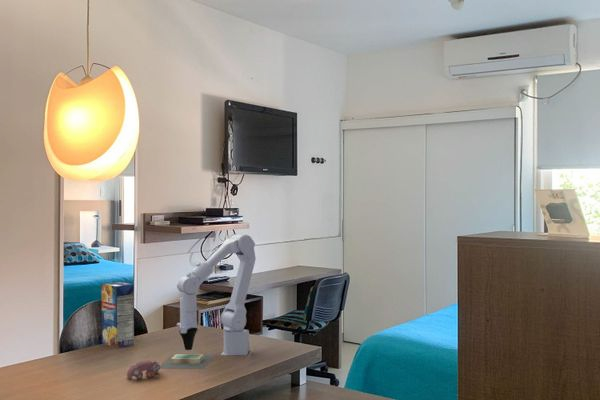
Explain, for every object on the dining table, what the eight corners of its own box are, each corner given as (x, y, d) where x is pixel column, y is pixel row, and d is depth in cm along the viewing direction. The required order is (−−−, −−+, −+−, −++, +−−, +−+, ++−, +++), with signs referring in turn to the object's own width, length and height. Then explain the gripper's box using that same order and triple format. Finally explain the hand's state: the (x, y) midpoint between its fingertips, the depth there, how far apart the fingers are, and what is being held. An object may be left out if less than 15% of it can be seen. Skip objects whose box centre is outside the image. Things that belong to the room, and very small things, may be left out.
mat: (215, 356, 209) (215, 354, 209) (204, 370, 191) (204, 368, 191) (171, 356, 210) (171, 354, 210) (156, 370, 192) (156, 368, 192)
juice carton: (101, 343, 231) (101, 283, 231) (118, 340, 237) (118, 281, 237) (116, 348, 223) (116, 286, 223) (134, 344, 228) (133, 284, 229)
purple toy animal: (129, 385, 181) (131, 368, 178) (125, 376, 184) (128, 358, 182) (159, 380, 186) (162, 363, 184) (155, 371, 190) (158, 354, 187)
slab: (203, 354, 204) (199, 358, 198) (203, 358, 204) (199, 363, 198) (175, 354, 204) (170, 358, 198) (175, 358, 204) (170, 363, 198)
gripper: (182, 307, 211) (182, 344, 210) (171, 314, 196) (171, 354, 196) (201, 307, 210) (201, 344, 210) (191, 314, 196) (192, 354, 196)
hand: (188, 349), depth 203 cm, fingers closed
